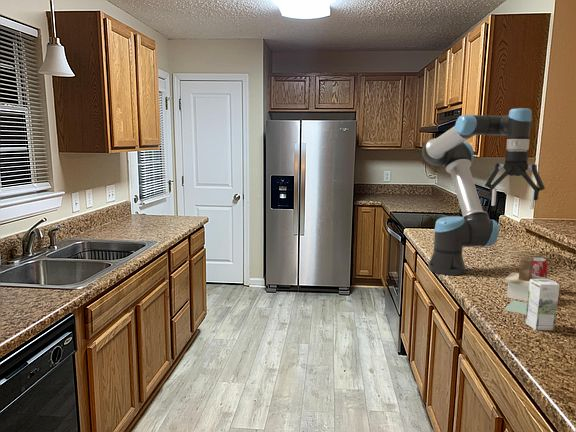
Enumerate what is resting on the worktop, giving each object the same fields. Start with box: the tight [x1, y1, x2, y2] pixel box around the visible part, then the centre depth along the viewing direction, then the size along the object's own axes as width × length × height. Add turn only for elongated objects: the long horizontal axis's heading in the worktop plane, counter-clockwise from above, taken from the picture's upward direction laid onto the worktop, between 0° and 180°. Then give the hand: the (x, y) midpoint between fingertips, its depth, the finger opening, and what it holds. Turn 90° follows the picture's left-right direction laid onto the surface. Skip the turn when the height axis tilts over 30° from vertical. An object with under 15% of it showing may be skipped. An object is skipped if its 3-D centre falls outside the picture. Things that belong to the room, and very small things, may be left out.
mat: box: [503, 299, 527, 316], centre depth 148 cm, size 12×12×1 cm
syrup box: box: [524, 278, 561, 331], centre depth 132 cm, size 6×6×14 cm
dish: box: [506, 282, 529, 302], centre depth 160 cm, size 9×9×6 cm
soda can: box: [531, 256, 548, 279], centre depth 169 cm, size 7×7×12 cm
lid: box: [504, 256, 545, 286], centre depth 159 cm, size 11×11×8 cm
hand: (512, 207), depth 170 cm, fingers open, 13 cm apart
